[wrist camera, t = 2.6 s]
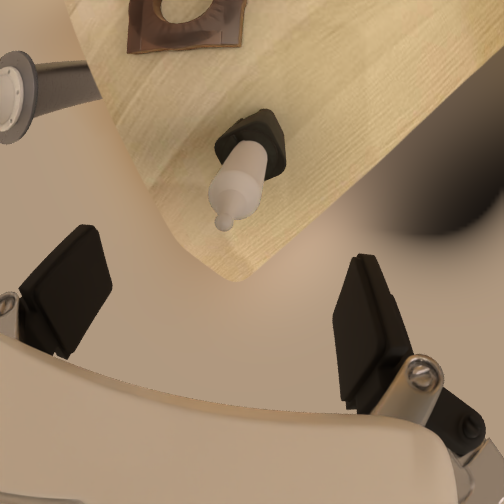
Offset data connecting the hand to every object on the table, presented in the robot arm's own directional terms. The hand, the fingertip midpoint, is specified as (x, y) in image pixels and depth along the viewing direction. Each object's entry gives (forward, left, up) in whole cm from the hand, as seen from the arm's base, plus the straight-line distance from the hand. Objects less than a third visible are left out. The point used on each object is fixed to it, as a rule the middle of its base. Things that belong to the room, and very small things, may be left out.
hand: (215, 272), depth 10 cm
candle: (0, 0, -28) cm, 28 cm away
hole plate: (-10, +18, -28) cm, 35 cm away
